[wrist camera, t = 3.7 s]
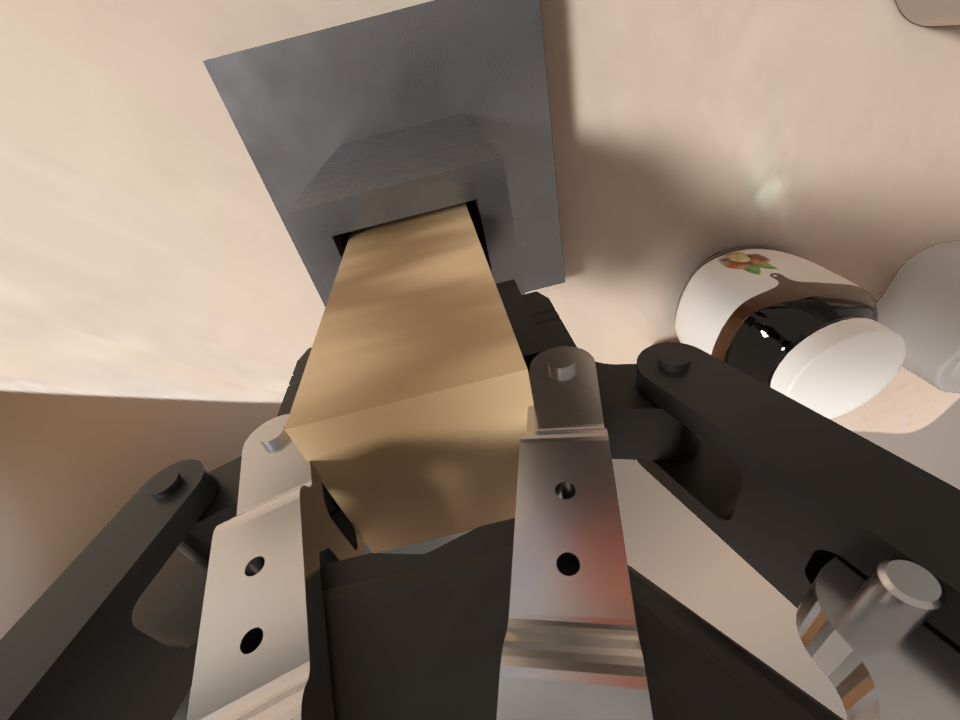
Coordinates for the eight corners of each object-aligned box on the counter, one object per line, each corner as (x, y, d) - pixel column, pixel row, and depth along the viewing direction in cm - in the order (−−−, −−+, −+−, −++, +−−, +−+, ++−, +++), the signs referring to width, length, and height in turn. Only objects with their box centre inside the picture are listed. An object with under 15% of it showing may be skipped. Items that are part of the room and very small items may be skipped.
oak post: (444, 147, 23) (528, 367, 7) (461, 219, 25) (553, 510, 9) (372, 165, 23) (282, 429, 7) (396, 236, 25) (372, 554, 9)
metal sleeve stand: (527, -21, 21) (666, -111, 10) (556, 270, 30) (643, 395, 19) (218, 60, 21) (-2, 65, 10) (344, 323, 31) (306, 478, 19)
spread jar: (801, 237, 32) (965, 313, 22) (749, 358, 38) (859, 455, 29) (649, 251, 31) (755, 337, 21) (624, 372, 37) (695, 478, 28)
